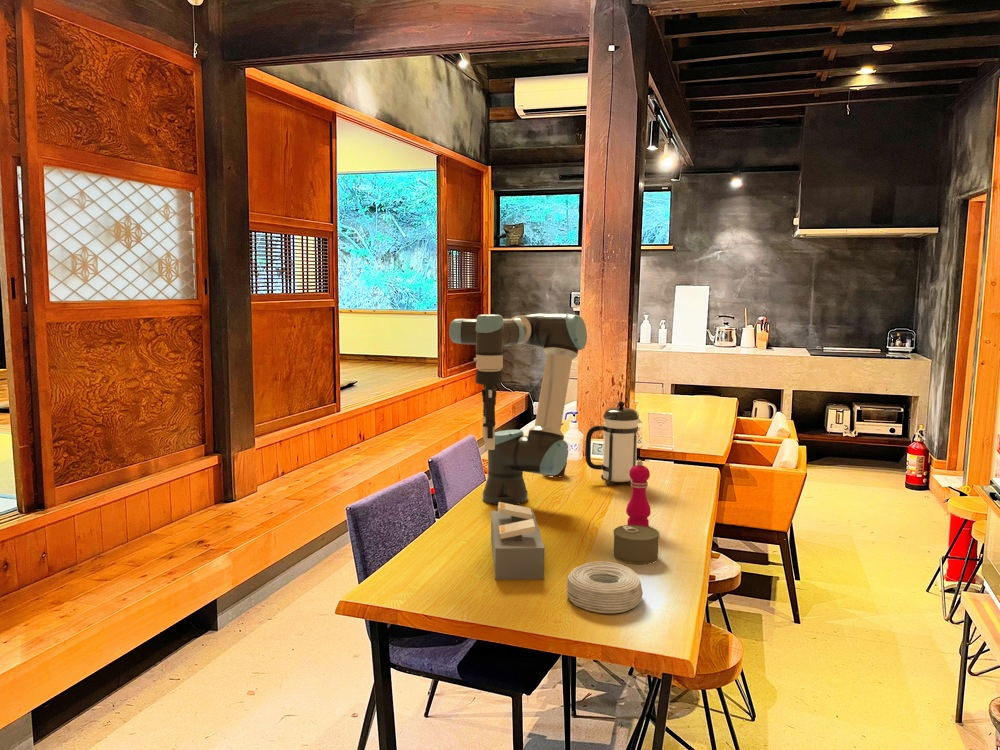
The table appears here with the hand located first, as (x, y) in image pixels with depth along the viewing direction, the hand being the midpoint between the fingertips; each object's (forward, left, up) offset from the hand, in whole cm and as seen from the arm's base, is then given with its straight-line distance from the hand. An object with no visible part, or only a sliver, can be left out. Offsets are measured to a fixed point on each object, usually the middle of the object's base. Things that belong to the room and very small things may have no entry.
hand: (488, 444), depth 211 cm
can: (+38, +20, -27) cm, 51 cm away
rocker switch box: (+15, -4, -27) cm, 31 cm away
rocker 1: (+12, -1, -17) cm, 21 cm away
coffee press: (-14, +73, -27) cm, 79 cm away
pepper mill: (+22, +41, -27) cm, 53 cm away
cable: (+50, -7, -27) cm, 58 cm away
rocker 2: (+24, -10, -17) cm, 31 cm away
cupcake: (-36, +63, -27) cm, 77 cm away
